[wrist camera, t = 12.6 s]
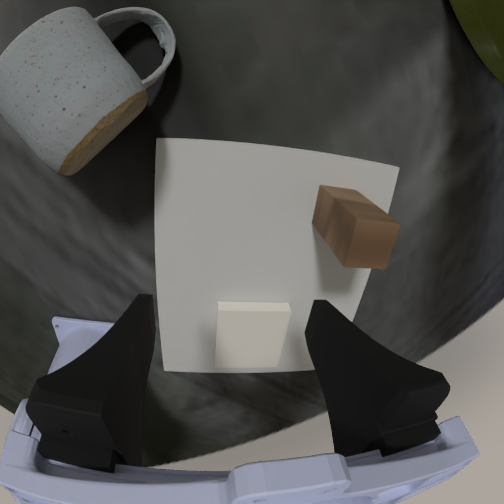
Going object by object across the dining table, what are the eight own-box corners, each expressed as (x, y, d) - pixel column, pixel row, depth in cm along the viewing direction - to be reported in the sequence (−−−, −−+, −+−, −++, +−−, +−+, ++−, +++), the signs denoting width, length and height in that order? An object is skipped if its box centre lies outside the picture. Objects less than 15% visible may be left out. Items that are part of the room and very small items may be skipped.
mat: (331, 365, 32) (332, 368, 32) (164, 367, 29) (164, 370, 29) (396, 166, 22) (399, 167, 22) (157, 137, 19) (156, 138, 19)
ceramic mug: (90, 169, 19) (41, 204, 13) (27, 95, 16) (-38, 104, 9) (205, 66, 17) (203, 46, 11) (133, -10, 14) (102, -54, 7)
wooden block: (347, 226, 23) (385, 269, 18) (311, 222, 23) (343, 267, 17) (356, 189, 22) (400, 224, 16) (319, 184, 22) (357, 219, 16)
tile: (288, 302, 26) (274, 357, 29) (217, 300, 25) (213, 357, 29) (291, 311, 25) (277, 367, 28) (218, 310, 24) (214, 367, 27)
